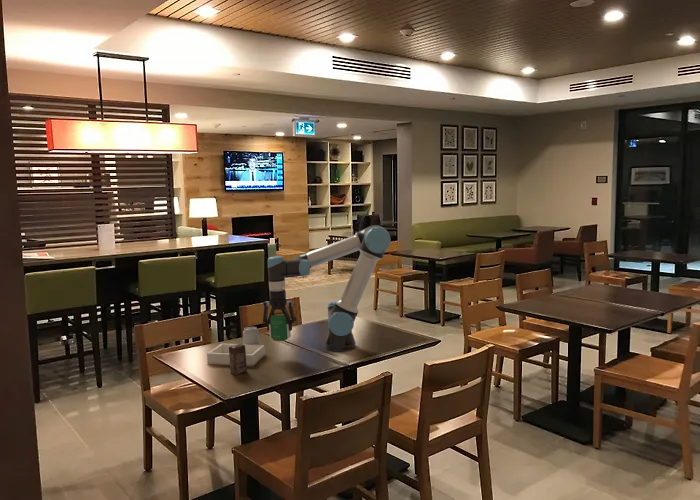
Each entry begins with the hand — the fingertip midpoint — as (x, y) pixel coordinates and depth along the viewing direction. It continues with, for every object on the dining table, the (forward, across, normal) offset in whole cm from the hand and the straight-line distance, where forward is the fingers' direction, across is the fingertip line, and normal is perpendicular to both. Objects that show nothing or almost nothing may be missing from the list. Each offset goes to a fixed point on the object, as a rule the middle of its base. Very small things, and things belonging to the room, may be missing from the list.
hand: (280, 337), depth 264 cm
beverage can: (+1, 0, 0) cm, 1 cm away
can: (+10, +17, -6) cm, 21 cm away
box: (+10, +12, +23) cm, 28 cm away
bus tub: (+9, +20, +6) cm, 23 cm away
